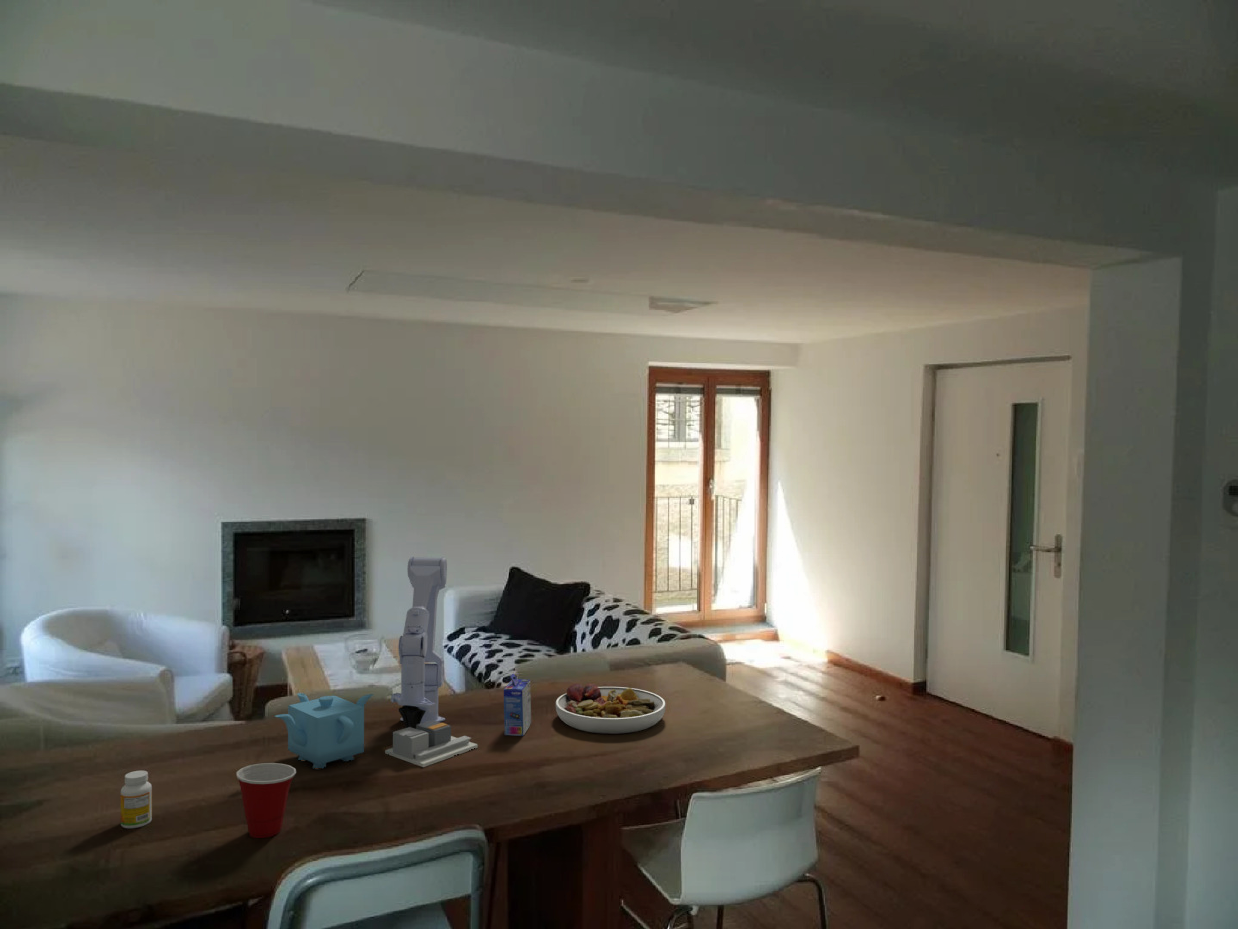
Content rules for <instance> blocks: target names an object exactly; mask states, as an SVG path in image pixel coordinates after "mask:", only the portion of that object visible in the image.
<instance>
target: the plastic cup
mask: <svg viewBox="0 0 1238 929" xmlns="http://www.w3.org/2000/svg"><path fill="white" fill-rule="evenodd" d="M296 774H297V769H296V768H295V767H293V766H292V765H289V764H285V763H277V762H276V763H275V762H268V763H267V762H265V763H256V764H249V765H247V766H244V767H242V768H240V769H239V770H237V771H236V778H237V780H238V782H239V787H240V792H241V798H242V803H243V810H244V816H245V820H246V825H247V830H248V833H249V836H250V837H252V838H254V839H264V838H266V839H267V838H270V837H273V836H276V835H278V834H279V833H280V832H281V831H282V828H283V822H284V817H285V813H286V808H287V802H288V797H289V792H290V787H291V784H292V782H293V778H294V777H295V775H296Z"/></svg>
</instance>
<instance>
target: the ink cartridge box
mask: <svg viewBox="0 0 1238 929" xmlns="http://www.w3.org/2000/svg"><path fill="white" fill-rule="evenodd" d="M509 678H510V681H509V683H508V684H507V685H506V686H505V687H504V688H503V715H504V716H503V719H504V722H503V723H504V725H503V726H504V727H503V728H504V736H514V737H515V736H516V737H517V736H518V737H523V736H525V734H526V732H527V731H528V729H529V728H530V726H531V725H532V708H531V707H532V705H531V701H532V699H531V698H532V696H531V679H524V678H523V679H521V678H520V679H519V678H517V676H516V675H515V673H512V674H511V675H510V676H509Z"/></svg>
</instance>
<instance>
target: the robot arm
mask: <svg viewBox="0 0 1238 929" xmlns="http://www.w3.org/2000/svg"><path fill="white" fill-rule="evenodd" d="M447 564H448V563H447V559H446V558H445V557H444V556H442V557H427V556H426V557H425V556H424V557H414V556H411V557H410V558H409V559H408V560H407V578H408V580H409V582H410V585H411V587H412V588H413V594H412V595H413V596H412V607H411V608H409V609H408V610H407V612H406V616H405V623H404V628H403V634H402V635H400V636H399V638H398V646H397V647H398V656H399V665H400V666H401V667H400V669H401V670H400V674H401V675H400V677H401V678H400V680H401V681H400V689H401V690H400V692H396V693H392V694H391V695H390V701H391V703H397V705H400V706H401V707H398V712H399V714H400V716H401V718H400V721H403V723H404V726H405V728H408V727H411V728H414V729H416V725H418V724H421V723H424V722H427V721H431V720H434V721H437V722H440V723H442V722H444V721H446V718H445V717H442V716H440V715H439V688H441V687H442V686H443V685H444V682H445V660H444V658H443V656H441V655H440V654H439V653H437V652H436V651H435V642H436V628H437V627H436V625H437V608H438V606H437V605H438V597H439V596H438V595H439V593H440V591H441V590H442V589H445V588H446V585H447V575H448V574H447V572H448V571H447V570H448V565H447Z"/></svg>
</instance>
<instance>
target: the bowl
mask: <svg viewBox="0 0 1238 929" xmlns="http://www.w3.org/2000/svg"><path fill="white" fill-rule="evenodd" d="M555 710H556V714H557V716H558V717H559V718H560V720H561V721H563V723H565V724H566V725H568V727H569V726H570V727H571V728H574V729H576V730H579V731H584V732H586V733H587V732H588V733H595V734H608V735H609V734H610V735H611V734H612V735H614V734H615V735H616V734H630V733H635V732H639V731H642V730H646V729H649V728H651V727H653V726H655V725H656V724H657V723H659V722H660V720H662V718H663V716H664V714H665V712H666V701H665V699H664V698H663V697H661V696H660V695H658V694H656V693H654V692H651V691H648V690H643V689H639V688H633V687H624V686H623V687H622V686H597V684H595V683H588V684H587V685H585V686H583V685H582V684H580V683H574V684H572V685H570V686H569V687H567V689H566V693H564V694H562V695H560V696H559V697H557V699H556V701H555Z"/></svg>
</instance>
